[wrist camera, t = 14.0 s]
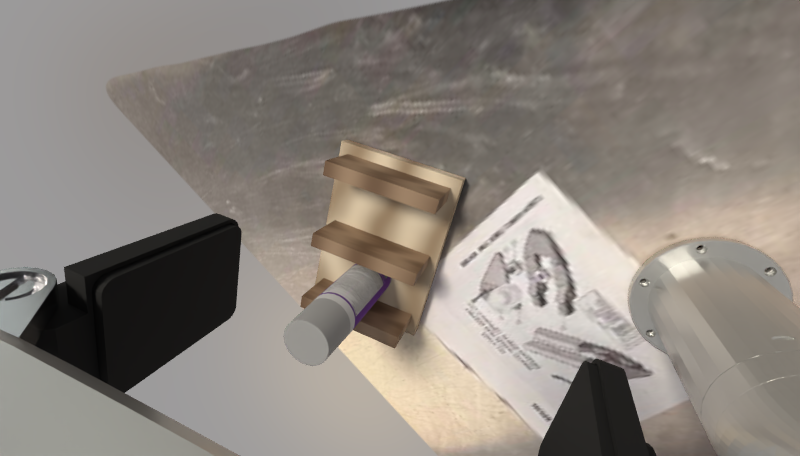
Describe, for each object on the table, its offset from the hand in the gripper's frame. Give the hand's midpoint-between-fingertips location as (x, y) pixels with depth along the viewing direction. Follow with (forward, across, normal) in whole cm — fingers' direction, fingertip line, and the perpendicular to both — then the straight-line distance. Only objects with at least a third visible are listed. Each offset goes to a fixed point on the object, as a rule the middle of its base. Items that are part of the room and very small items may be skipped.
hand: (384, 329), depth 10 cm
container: (+32, +10, +17) cm, 38 cm away
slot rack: (+33, +10, +13) cm, 37 cm away
